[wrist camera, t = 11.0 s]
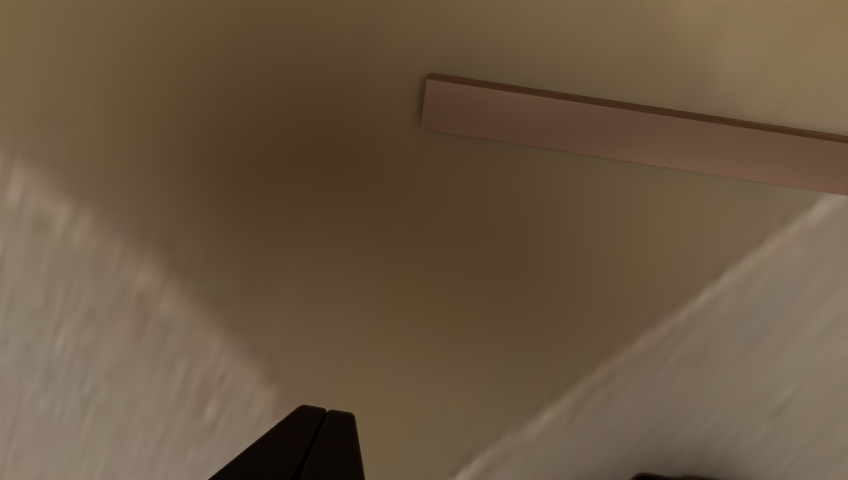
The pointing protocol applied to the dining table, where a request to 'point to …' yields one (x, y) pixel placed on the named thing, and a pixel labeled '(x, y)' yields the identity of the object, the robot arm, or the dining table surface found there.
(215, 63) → the dining table surface
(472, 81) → the lane
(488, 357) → the dining table surface
